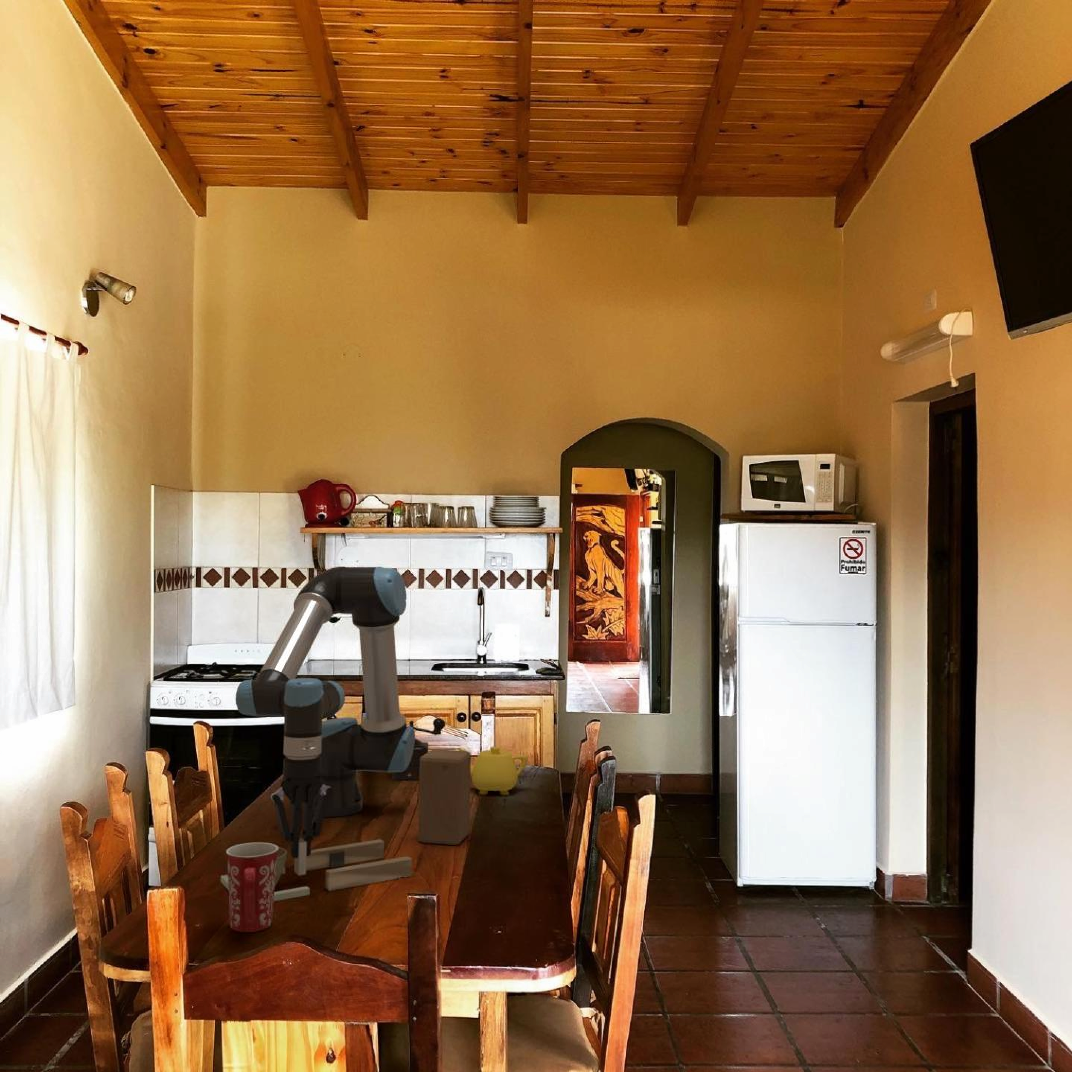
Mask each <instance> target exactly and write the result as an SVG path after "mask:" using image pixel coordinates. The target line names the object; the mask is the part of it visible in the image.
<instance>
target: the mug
mask: <svg viewBox="0 0 1072 1072" xmlns="http://www.w3.org/2000/svg"><path fill="white" fill-rule="evenodd" d="M278 847H279V846H278V845H276V844H274V843H270V842H261V841H260V842H247V843H240V844H235V845H233V846H231V847H229V848H227V849H226V851H225V855H226V857H227V875H228V885H229V890H228V906H229V907H228V908H229V909H228V911H229V927H230V928H231V930H233V931H236V932H240V933H242V932H243V933H249V932H250V933H253V932H258V931H262V930H265V929H267V928H269V927H270V926H271V925H272V924H273V915H274V914H273V913H274V904H275V903H274V902H275V901H274V892H275V889H276V888H275V887H276V885H275V875H276V862H277V852H278Z"/></svg>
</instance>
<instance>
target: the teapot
mask: <svg viewBox="0 0 1072 1072" xmlns="http://www.w3.org/2000/svg"><path fill="white" fill-rule="evenodd" d="M457 750H460V751H467V750H466V749H464V748H460V747H458V748H457ZM511 753H512V752H510V750H509V751H508V750H501V747H500V746H490V748H489V749H486V750H481V751H480V752H479V753H478V756H477V758H476V759H475V762H474V765H473V764H472V763H471V766H470V778H471V781H472V784H473V785H474V786H473V787H475V789H477V790H478V791H479V792H478V795H481V796H486V795H488V794H489V791H493V792H497V791H498V792H499V794H500V795H501V796H509V795H510V793H509V791H510V790H512V789H513V788H515V786H516V784H517V782H518V778H519V777H518V776H519V775H520V774H521V772H523V770H524V768H525V767H526V765H528V760H529V759H528V756H527V755H525V754H518V755H512V754H511ZM514 760H520V764H519V767H518V769H517V765H516V763H515V762H516V761H514Z"/></svg>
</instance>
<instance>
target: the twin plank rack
mask: <svg viewBox="0 0 1072 1072" xmlns="http://www.w3.org/2000/svg"><path fill="white" fill-rule="evenodd" d="M384 858H385V841H384V840H382V839H374V840H369V841H368V840H367V841H362V842H356V843H355V842H354V843H350V844H349V843H348V844H342V845H336V846H330V847H329V846H327V847H324V848H316V849H311V854H310V856H306V872H307V871H313V870H318V869H325V868H330V869H327V870H325V886H324V888H325V890H327V891H329V892H332V891H338V890H343V889H349V888H353V887H358V886H359V887H360V886H365V885H371V884H375V883H376V884H377V883H381V882H387V881H392V880H397V878H398V879H402V878H401V877H404V878H408V877H413V859H412V858H411V857H410V856H403V857H397V858H396V857H395V858H391V859H385V860H379V861H373V860H378V859H384ZM366 861H372V862H367V863H361V862H366ZM354 863H361V864H355V865H350V864H354ZM345 865H349V866H345ZM331 868H332V869H331ZM386 880H387V881H386ZM337 889H338V890H337Z"/></svg>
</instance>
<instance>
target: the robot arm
mask: <svg viewBox="0 0 1072 1072" xmlns="http://www.w3.org/2000/svg"><path fill="white" fill-rule="evenodd" d="M406 589H407V588H406V584H405V581H404V578H403V576H402V574H401V573H400V572H399V571H398V570H397V569H395V568H393V567H392V568H390V567H384V566H335V567H331V568H329V569H327V570H326V569H325V570H324V571H322V572H320V573H318V574H317V575H316V576H314V577H313V578H312V579H310V580H308V582H306V584H305V585H304V586H303V587H302V588H301V589H300V591H299V592H298V594H297V596H296V597H295V598H294V602H293V612H292V613H291V616H289V619H288V621H287V622H286V624H285V626H284V628H283V629H282V632H280V635H279V637H278V639H277V640H276V642H275V644H274V646H273V648H272V650H271V652H270V653H269V655H268V657H267V659H266V660H265V662H264V664H263V665H262V668H261V670H260V672H259V673H258V675H257V676H256V678H255V679H252V678H251V679H245V680H243V681H241V682H240V683H239V684H238V687H237V689H236V693H235V705H236V708H237V710H238V712H239V713H240V714H241V715H246V716H251V717H252V716H254V717H278V718H282V717H283V718H284V722H283V725H284V726H283V727H284V728H283V730H284V731H283V755H284V756H285V757H283V759H282V760H283V764H282V766H283V767H282V781H281V783H280V787H279V788H278V789H277V790H276V791H275V792H273V791H272V792H270V793H269V795H268V796H269V798H270V800H271V802H272V803H273V805H274V806H273V807H274V811H275V813H276V819H277V823H278V827H279V832H280V837H281V838H283V840H285V841H287V842H288V841H289V842H290V849H289V850H290V851H289V852H290V853H289V855H290V857H291V858H292V859H294V864H293V865H294V867H293V868H294V869H293V870H294V873H295V874H297V875H298V876H303V875H304V876H305V875H307V871H306V856H310V854H311V850H312V842H313V841H314V838H316V837H320V836H321V833H322V828H323V824H324V820H325V818H327V817H328V818H334V817H344V816H349V815H353V814H357V813H359V812H361V811H362V810H363V797H362V794H361V791H360V787H359V784H358V781H357V771H363V772H376V773H377V772H379V773H388V774H390V773H393V772H403V771H404V770H406V768H407V767H408V765H409V763H410V760H411V757H412V754H413V749H414V743H415V739H416V730H414V728H413V727H411V726H409V725H408V726H407V718H406V716H405V715H404V714H403V713H401V711H400V698H399V697H400V696H399V682H398V667H397V666H398V665H397V651H396V637H395V636H396V635H395V626H396V624H398V623H399V621H400V616H402V615H404V613H405V612H406V608H407V590H406ZM338 614H344V615H345V614H346V615H351V619H352V620H351V621H352V624H353V625H354V626H355V627H356V628H357V629H358V630H359V647H360V656H361V657H360V658H361V669H362V670H361V671H362V682H363V683H362V684H363V686H362V687H363V694H364V695H363V696H364V709H365V710H364V711H365V716H364V717H363V718H362V719H361V721H360V724H358V723H359V721H358V719H357V717H351V716H348V717H338V718H332V719H327V718H331V717H333V716H335V715H336V714H337V713H338V712H340V711H341V710H342V708H343V707H344V704H345V701H346V694H345V691H344V689H343V687H342V686H341V685H340V684H339V683H337V682H335V681H333V680H321V679H318V678H313V677H305V678H304V677H301V678H299V677H298V678H296V677H297V676H298V673H300V670H301V667H302V666H303V664H304V662H305V660H306V659H307V656H308V654H309V653H310V651H311V648H312V646H313V644H314V642H315V640H316V638H318V634H319V633H320V631H321V629H322V627H323V625H324V624H326V623H328V622H329V621H330V620H331V619H332V616H334V615H338ZM284 795H285V796H286V798H287V799H288V801H289V806H290V807H289V808H290V809H289V810H290V811H289V812H290V813H289V814H290V815H289V816H290V817H289V819H290V820H289V823H288V819H287V813H286V809H285V805H284V802H283V801H284V798H285V797H284ZM301 808H302V819H301ZM301 820H302V821H301ZM301 822H302V826H301ZM301 827H302V829H301ZM300 829H301V830H300ZM300 831H301V832H302V833H301V834H300ZM300 835H302V838H301V837H300Z"/></svg>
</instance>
